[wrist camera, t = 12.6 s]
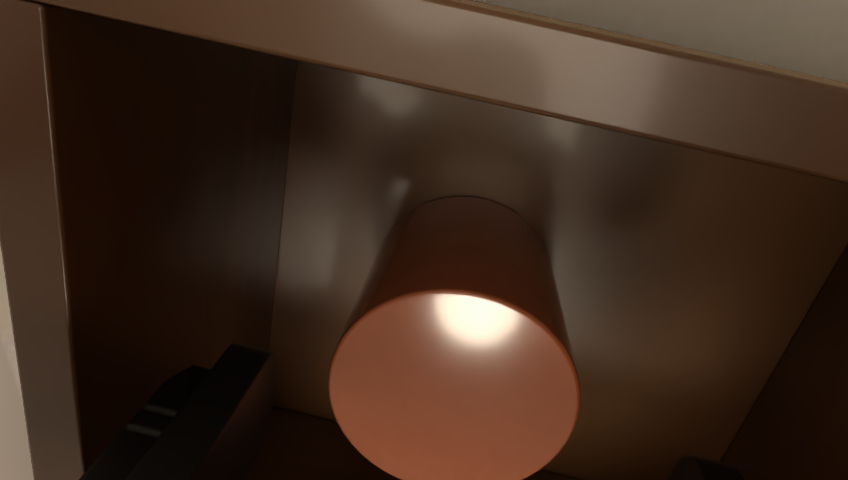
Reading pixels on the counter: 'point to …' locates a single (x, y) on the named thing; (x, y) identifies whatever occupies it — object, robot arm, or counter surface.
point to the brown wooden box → (406, 190)
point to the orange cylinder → (457, 349)
